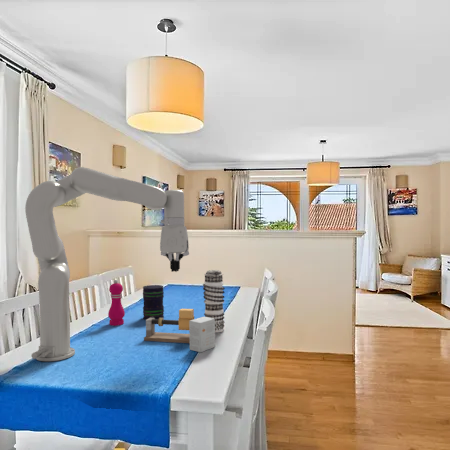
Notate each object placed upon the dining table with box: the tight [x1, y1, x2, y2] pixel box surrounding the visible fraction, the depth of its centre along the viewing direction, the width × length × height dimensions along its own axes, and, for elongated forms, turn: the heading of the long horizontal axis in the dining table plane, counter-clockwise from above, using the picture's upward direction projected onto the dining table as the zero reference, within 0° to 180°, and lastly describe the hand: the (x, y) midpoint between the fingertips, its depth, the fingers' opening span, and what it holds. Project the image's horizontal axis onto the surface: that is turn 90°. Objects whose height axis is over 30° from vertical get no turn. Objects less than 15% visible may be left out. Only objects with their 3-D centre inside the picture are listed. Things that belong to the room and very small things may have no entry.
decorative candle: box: [202, 269, 226, 333], centre depth 169 cm, size 9×9×25 cm
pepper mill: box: [107, 279, 126, 327], centre depth 181 cm, size 7×7×20 cm
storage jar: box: [142, 284, 165, 321], centre depth 192 cm, size 10×10×15 cm
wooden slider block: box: [177, 308, 195, 331], centre depth 155 cm, size 4×5×7 cm
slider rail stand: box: [143, 318, 190, 344], centre depth 156 cm, size 8×22×8 cm, turn 78°
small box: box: [188, 316, 216, 353], centre depth 145 cm, size 8×6×10 cm
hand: (175, 271), depth 152 cm, fingers closed
